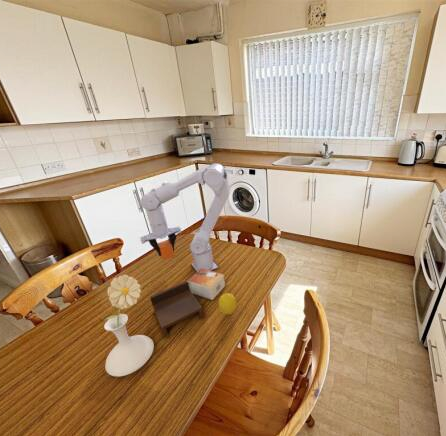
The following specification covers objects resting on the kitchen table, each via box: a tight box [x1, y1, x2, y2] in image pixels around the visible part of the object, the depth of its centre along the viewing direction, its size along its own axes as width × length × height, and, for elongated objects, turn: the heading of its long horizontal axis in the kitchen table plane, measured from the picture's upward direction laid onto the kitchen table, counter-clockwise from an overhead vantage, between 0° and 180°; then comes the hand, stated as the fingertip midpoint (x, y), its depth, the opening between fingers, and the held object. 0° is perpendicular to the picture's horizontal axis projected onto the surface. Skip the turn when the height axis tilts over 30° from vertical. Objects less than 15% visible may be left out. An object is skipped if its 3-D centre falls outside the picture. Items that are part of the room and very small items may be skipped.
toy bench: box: [149, 280, 205, 338], centre depth 76 cm, size 12×12×7 cm
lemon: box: [218, 292, 238, 316], centre depth 76 cm, size 6×6×8 cm
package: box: [157, 239, 175, 261], centre depth 96 cm, size 5×4×6 cm
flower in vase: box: [102, 274, 155, 377], centre depth 60 cm, size 13×11×25 cm
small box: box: [186, 269, 226, 301], centre depth 87 cm, size 8×6×10 cm
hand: (166, 252), depth 96 cm, fingers closed on package, 4 cm apart
